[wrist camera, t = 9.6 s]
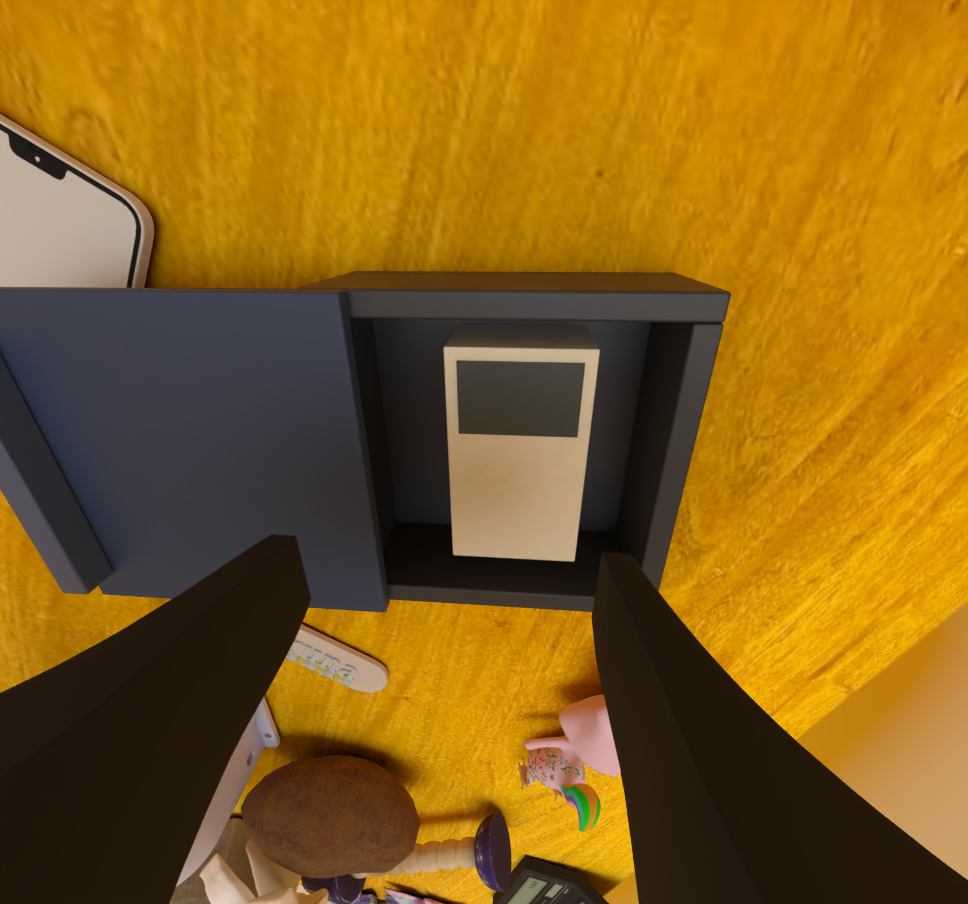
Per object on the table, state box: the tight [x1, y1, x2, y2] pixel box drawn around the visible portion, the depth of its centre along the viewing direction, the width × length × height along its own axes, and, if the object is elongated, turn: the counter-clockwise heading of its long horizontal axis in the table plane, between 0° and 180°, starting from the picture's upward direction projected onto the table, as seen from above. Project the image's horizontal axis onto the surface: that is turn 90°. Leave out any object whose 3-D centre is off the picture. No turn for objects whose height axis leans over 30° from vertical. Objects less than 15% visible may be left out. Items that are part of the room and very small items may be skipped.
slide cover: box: [0, 287, 390, 612], centre depth 14 cm, size 12×12×2 cm
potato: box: [241, 755, 420, 878], centre depth 30 cm, size 7×12×7 cm
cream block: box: [443, 324, 600, 562], centre depth 16 cm, size 8×5×4 cm, turn 0°
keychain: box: [285, 624, 389, 693], centre depth 26 cm, size 10×1×3 cm
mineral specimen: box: [171, 818, 259, 904], centre depth 35 cm, size 7×9×8 cm
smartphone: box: [0, 114, 154, 288], centre depth 18 cm, size 7×1×15 cm
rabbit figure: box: [517, 695, 621, 832], centre depth 24 cm, size 6×6×15 cm
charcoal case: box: [297, 271, 731, 612], centre depth 16 cm, size 12×12×5 cm
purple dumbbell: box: [301, 813, 511, 904], centre depth 34 cm, size 5×5×17 cm
